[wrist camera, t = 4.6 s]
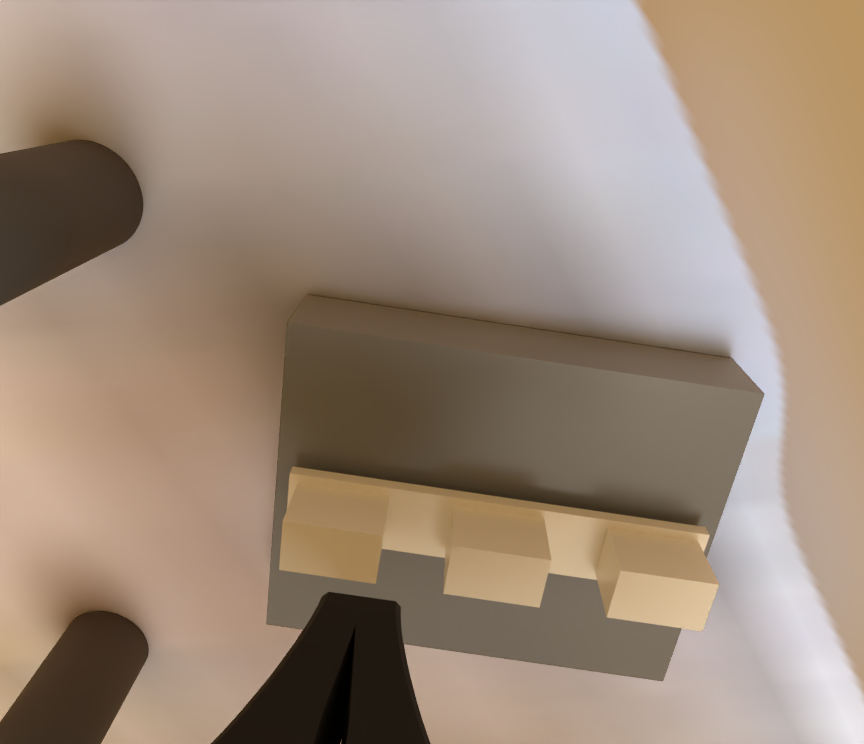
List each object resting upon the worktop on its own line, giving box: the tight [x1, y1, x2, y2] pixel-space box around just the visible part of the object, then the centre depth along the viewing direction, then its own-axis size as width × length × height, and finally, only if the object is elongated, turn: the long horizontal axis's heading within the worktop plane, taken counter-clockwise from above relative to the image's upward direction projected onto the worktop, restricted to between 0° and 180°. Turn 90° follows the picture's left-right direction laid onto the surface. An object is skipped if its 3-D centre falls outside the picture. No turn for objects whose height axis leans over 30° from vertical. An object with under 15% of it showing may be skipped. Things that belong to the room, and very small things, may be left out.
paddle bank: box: [279, 466, 719, 631], centre depth 16 cm, size 2×9×2 cm, turn 82°
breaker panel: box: [266, 295, 764, 681], centre depth 18 cm, size 8×10×2 cm
